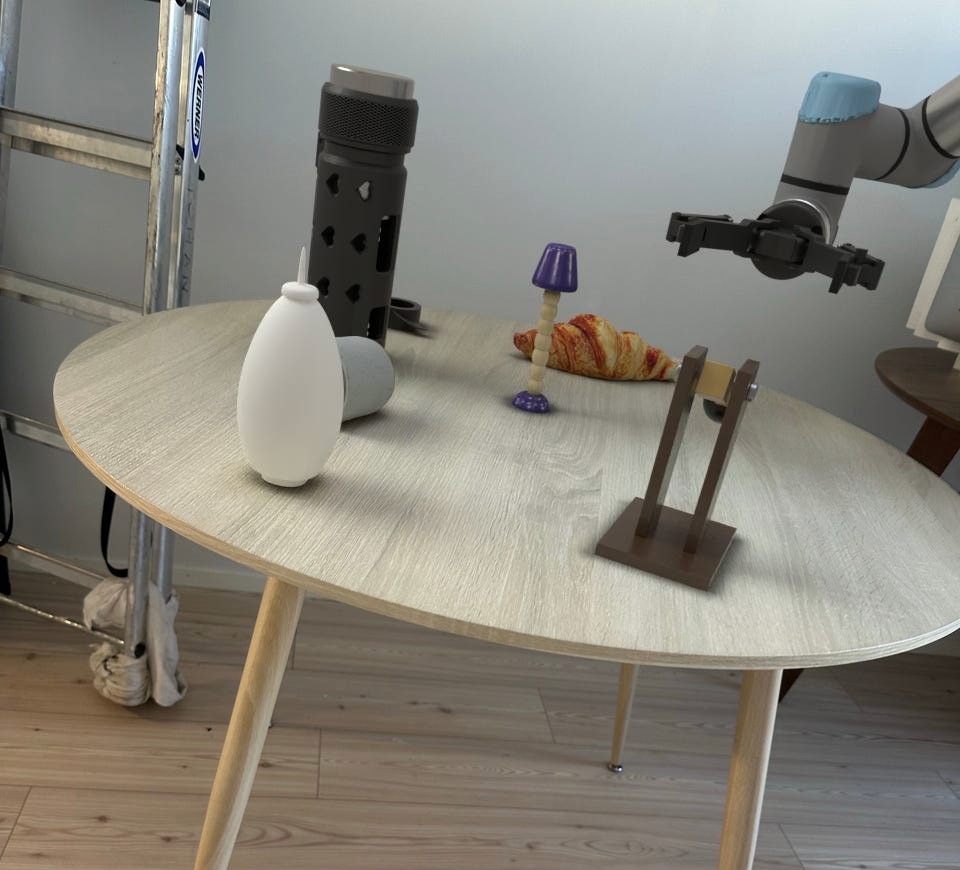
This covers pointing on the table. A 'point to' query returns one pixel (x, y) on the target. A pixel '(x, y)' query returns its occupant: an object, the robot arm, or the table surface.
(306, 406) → the air blower bulb
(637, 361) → the croissant
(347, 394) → the ceramic mug
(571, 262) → the toy lamp
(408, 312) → the duct tape
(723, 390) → the lever
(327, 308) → the water bottle
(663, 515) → the stand
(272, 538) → the table surface
